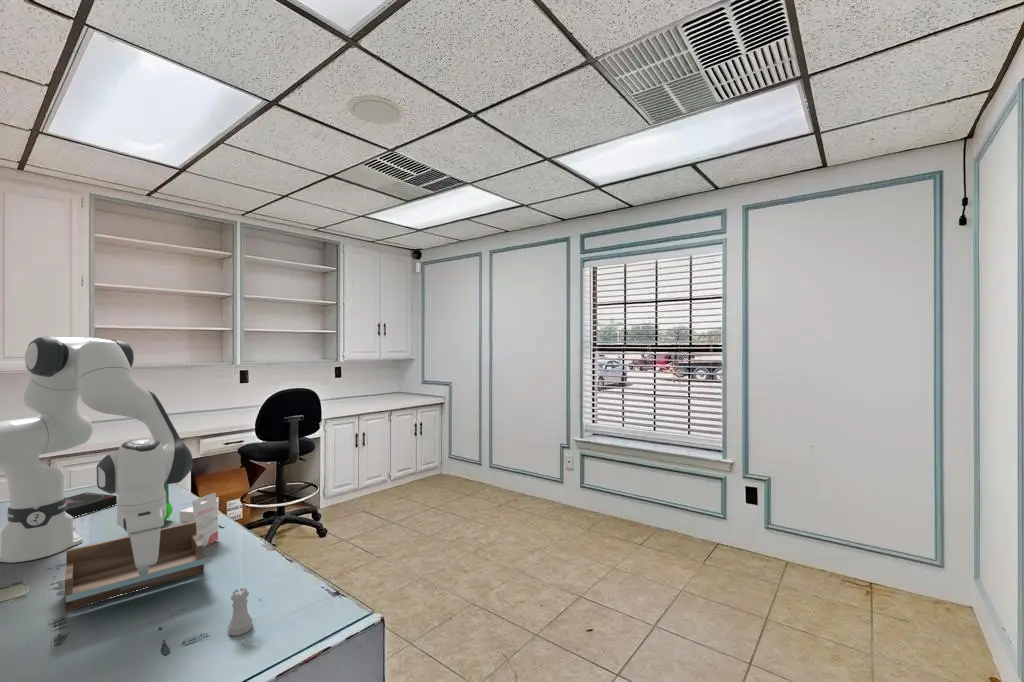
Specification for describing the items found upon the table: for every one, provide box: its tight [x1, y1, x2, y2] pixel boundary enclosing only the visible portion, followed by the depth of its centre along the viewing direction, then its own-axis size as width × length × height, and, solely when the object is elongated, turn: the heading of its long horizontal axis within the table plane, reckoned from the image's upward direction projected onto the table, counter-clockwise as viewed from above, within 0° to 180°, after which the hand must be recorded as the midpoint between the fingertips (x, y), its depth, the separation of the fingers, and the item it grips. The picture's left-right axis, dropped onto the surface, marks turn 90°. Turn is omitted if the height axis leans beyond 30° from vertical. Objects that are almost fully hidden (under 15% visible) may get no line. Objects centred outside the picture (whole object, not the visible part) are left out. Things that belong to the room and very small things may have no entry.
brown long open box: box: [64, 521, 205, 613], centre depth 117 cm, size 12×26×10 cm, turn 132°
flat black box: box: [65, 492, 118, 517], centre depth 170 cm, size 16×17×4 cm
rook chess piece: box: [227, 587, 254, 637], centre depth 96 cm, size 4×4×8 cm
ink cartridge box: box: [179, 492, 219, 548], centre depth 138 cm, size 9×5×15 cm, turn 168°
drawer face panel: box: [66, 556, 211, 602], centre depth 108 cm, size 2×25×12 cm
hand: (143, 572), depth 107 cm, fingers closed
